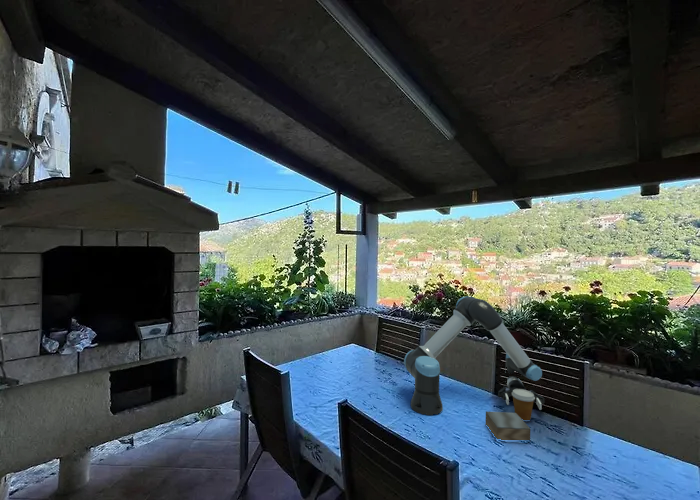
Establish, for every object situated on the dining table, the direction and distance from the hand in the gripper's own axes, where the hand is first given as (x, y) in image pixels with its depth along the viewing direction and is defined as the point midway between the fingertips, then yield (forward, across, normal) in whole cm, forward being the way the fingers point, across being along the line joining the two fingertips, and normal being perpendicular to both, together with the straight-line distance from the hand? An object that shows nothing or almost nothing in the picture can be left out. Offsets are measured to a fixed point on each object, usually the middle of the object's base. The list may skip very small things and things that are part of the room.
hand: (524, 404), depth 152 cm
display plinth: (+18, +10, -6) cm, 21 cm away
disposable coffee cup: (+1, 0, -7) cm, 7 cm away
